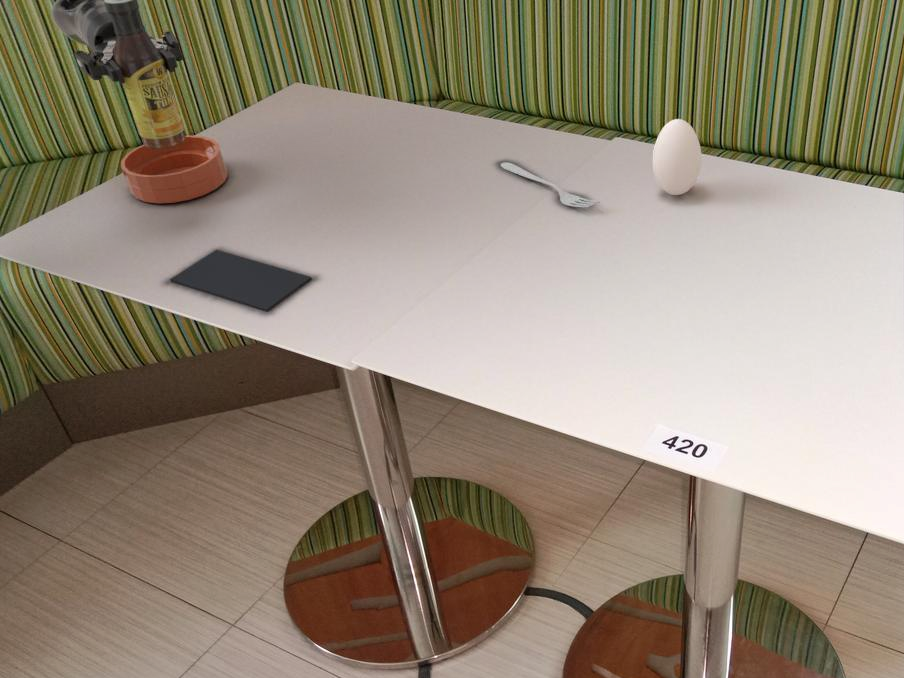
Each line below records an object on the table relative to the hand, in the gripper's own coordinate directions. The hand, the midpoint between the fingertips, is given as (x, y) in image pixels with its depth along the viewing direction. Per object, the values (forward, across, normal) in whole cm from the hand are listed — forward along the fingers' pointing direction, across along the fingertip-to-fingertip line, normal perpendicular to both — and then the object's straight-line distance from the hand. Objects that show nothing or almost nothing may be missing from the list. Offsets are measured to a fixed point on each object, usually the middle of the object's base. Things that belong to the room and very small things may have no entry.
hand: (146, 70), depth 133 cm
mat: (+20, 0, +23) cm, 31 cm away
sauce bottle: (-2, 0, +11) cm, 12 cm away
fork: (+23, +48, +23) cm, 59 cm away
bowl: (-16, +2, +24) cm, 29 cm away
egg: (+38, +63, +23) cm, 77 cm away
